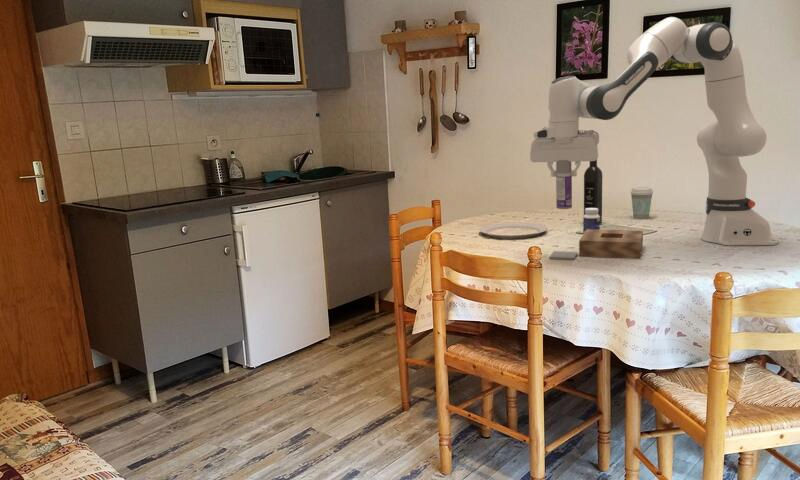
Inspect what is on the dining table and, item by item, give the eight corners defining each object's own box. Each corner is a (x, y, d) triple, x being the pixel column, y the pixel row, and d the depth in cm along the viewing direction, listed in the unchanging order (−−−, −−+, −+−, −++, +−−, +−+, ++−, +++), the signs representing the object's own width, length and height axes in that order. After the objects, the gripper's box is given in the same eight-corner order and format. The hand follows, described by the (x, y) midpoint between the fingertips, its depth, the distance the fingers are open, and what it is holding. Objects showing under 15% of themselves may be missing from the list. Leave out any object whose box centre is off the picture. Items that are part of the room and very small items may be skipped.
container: (569, 205, 198) (569, 158, 194) (573, 208, 193) (573, 160, 190) (554, 206, 198) (554, 159, 194) (558, 209, 193) (558, 161, 190)
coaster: (577, 254, 200) (577, 252, 200) (574, 260, 194) (574, 257, 194) (553, 253, 203) (553, 251, 203) (549, 259, 197) (549, 256, 197)
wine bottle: (596, 226, 242) (596, 148, 236) (582, 225, 246) (583, 148, 239) (602, 223, 246) (603, 147, 240) (589, 222, 250) (590, 147, 243)
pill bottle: (600, 237, 223) (600, 209, 221) (583, 237, 224) (583, 210, 222) (598, 233, 228) (599, 207, 226) (582, 234, 230) (582, 207, 227)
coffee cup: (625, 217, 256) (626, 188, 253) (642, 215, 258) (643, 186, 256) (639, 220, 248) (639, 190, 245) (657, 218, 250) (658, 188, 248)
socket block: (642, 245, 207) (642, 230, 206) (639, 258, 191) (639, 242, 190) (586, 243, 215) (586, 229, 214) (579, 255, 199) (579, 240, 198)
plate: (554, 238, 226) (554, 233, 226) (484, 242, 226) (484, 237, 226) (538, 225, 251) (538, 220, 251) (475, 228, 251) (475, 224, 251)
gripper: (600, 129, 189) (600, 174, 192) (532, 131, 197) (533, 175, 200) (597, 130, 183) (597, 177, 186) (528, 133, 192) (529, 177, 194)
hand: (563, 176), depth 193 cm, fingers closed on container, 5 cm apart
